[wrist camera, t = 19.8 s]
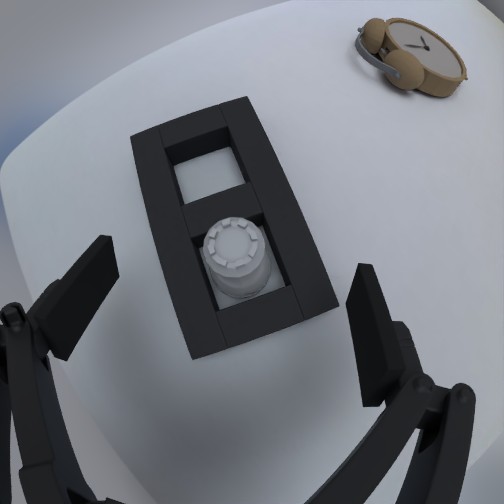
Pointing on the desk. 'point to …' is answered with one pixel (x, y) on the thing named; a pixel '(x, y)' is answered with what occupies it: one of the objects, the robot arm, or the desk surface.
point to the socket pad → (219, 208)
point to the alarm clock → (412, 56)
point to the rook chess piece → (237, 257)
